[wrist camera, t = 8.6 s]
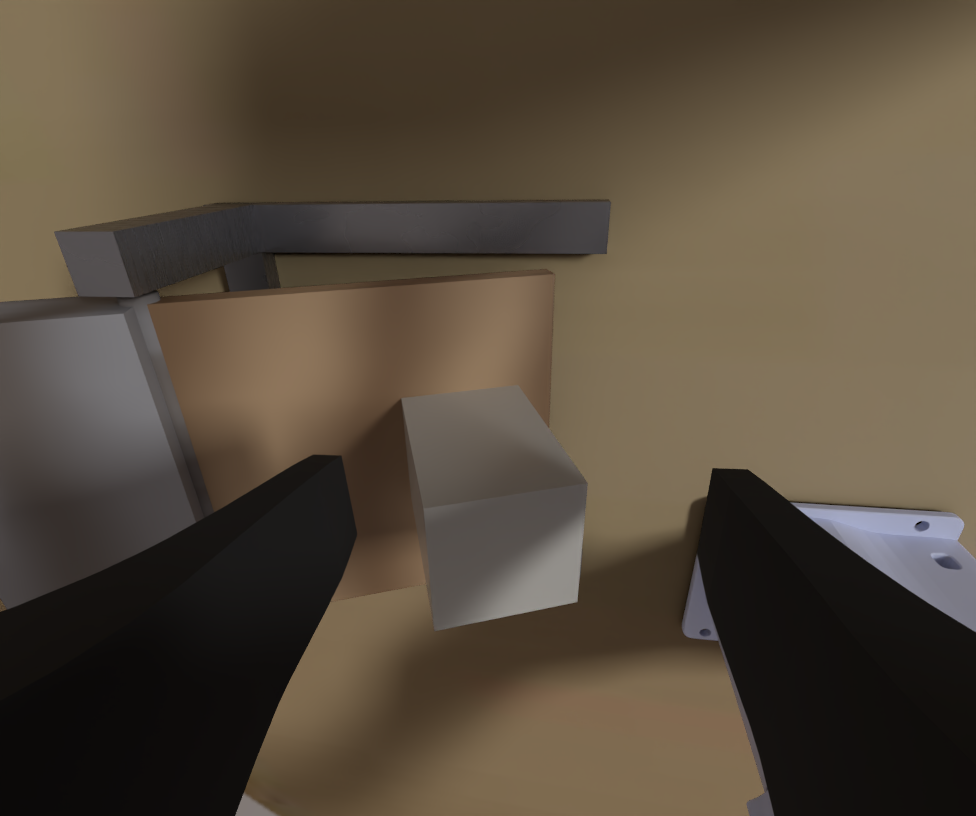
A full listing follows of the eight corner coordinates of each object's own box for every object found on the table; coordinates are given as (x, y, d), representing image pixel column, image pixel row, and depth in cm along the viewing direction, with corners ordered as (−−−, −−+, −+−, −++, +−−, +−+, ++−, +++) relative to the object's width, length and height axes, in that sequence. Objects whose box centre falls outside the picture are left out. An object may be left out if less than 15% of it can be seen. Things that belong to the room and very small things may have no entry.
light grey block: (517, 384, 18) (587, 483, 13) (516, 481, 20) (577, 601, 14) (401, 398, 17) (423, 508, 12) (411, 497, 19) (434, 631, 14)
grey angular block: (608, 199, 17) (633, 230, 11) (579, 565, 24) (584, 708, 18) (217, 203, 19) (47, 231, 13) (298, 542, 26) (215, 666, 20)
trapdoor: (538, 258, 18) (564, 273, 16) (532, 540, 23) (550, 578, 21) (-90, 301, 14) (-167, 327, 12) (81, 621, 20) (49, 677, 18)
